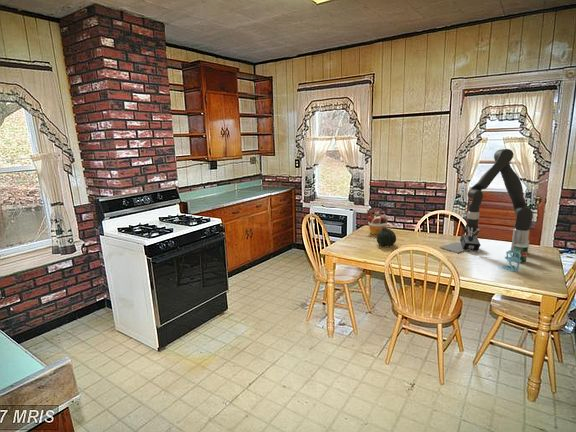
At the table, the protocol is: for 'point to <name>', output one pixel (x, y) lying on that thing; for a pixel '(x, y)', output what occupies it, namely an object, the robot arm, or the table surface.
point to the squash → (386, 237)
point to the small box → (469, 243)
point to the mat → (454, 247)
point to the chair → (512, 260)
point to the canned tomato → (521, 252)
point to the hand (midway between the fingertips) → (470, 241)
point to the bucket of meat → (376, 222)
